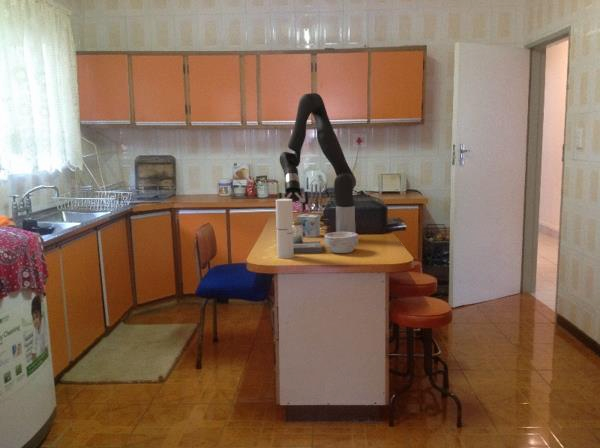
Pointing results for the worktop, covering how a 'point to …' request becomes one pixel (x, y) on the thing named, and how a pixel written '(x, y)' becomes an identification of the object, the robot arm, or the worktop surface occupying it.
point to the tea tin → (297, 232)
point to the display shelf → (308, 247)
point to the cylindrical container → (284, 228)
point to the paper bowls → (341, 241)
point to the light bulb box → (310, 225)
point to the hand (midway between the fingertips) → (294, 210)
